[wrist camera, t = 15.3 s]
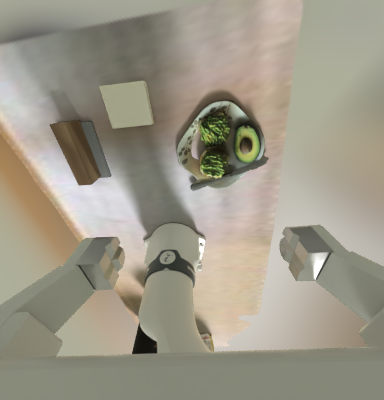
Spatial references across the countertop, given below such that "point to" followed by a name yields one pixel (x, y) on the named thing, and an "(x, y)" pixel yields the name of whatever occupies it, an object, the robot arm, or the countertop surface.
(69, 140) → the brown long block
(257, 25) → the countertop surface
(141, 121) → the tile
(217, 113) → the plate of avocado toast
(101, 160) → the pad
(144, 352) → the coffee jar
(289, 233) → the robot arm
